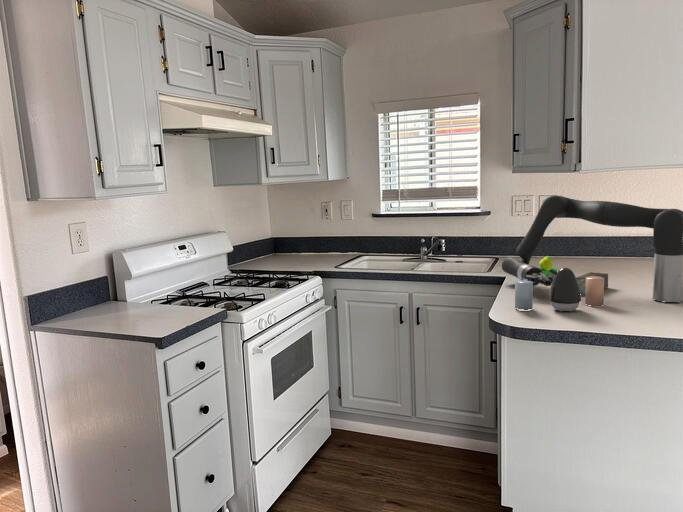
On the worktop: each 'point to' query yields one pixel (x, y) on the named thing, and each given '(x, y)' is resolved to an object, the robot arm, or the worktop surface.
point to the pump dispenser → (564, 290)
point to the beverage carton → (582, 278)
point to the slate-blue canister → (524, 294)
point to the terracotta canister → (594, 291)
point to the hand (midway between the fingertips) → (549, 283)
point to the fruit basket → (546, 266)
